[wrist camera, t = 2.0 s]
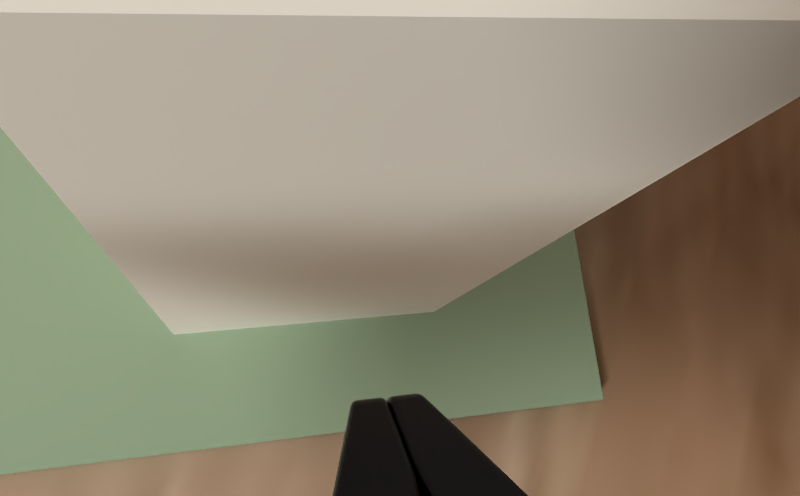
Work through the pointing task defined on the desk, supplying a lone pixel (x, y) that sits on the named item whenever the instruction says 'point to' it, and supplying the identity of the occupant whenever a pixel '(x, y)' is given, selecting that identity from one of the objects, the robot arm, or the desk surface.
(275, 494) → the desk surface
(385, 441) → the robot arm
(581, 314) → the putting strip
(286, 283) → the cream block
